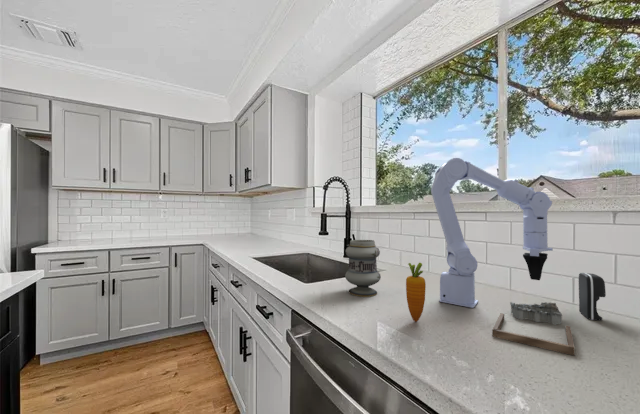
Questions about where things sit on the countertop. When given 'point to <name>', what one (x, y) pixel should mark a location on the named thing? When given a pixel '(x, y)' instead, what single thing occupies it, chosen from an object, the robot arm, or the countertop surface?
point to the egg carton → (537, 312)
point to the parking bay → (534, 339)
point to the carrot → (415, 292)
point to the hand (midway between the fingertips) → (535, 278)
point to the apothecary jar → (362, 267)
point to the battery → (590, 294)
